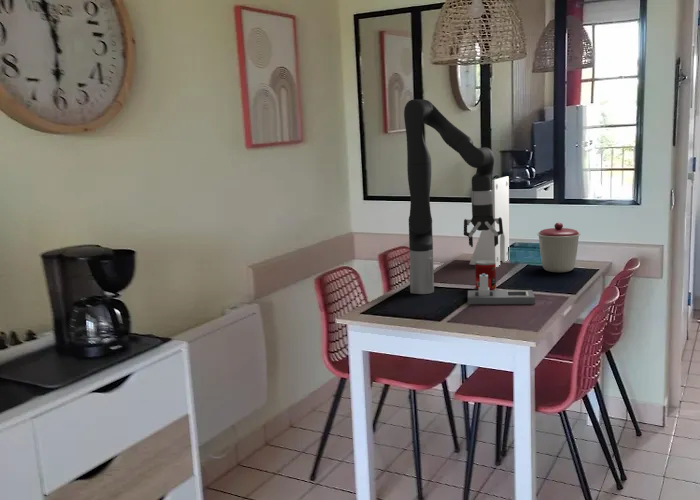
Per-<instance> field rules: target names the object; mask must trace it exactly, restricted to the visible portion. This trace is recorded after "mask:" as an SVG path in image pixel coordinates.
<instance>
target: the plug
mask: <svg viewBox="0 0 700 500" xmlns="http://www.w3.org/2000/svg"><path fill="white" fill-rule="evenodd" d="M478 288H479V296H490V289H489V287H488V275H485V273H482V275H480V287H478Z"/></svg>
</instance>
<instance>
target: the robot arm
mask: <svg viewBox="0 0 700 500" xmlns="http://www.w3.org/2000/svg"><path fill="white" fill-rule="evenodd" d="M403 117H404V125H405V126H404V128H405V136H406V152H407V153H406V155H407V158H406V159H407V160H406V161H407V162H406V163H407V164H406V167H407V169H406V170H407V171H406V172H407V181H408V190H409V196H410V207H409V216H408V236H409V237H408V244H409V289H410V294H415V295H416V294H417V295H427V294H428V295H429V294H432V293H434V292H435V284H434V283H435V281H434V280H435V279H434V271H435V270H434V242H433V238H434V237H433V218H432V217H433V216H432V211H431V203H430V202H431V201H430V195H431V194H430V193H431V186H432V158H431V157H432V156H431V153H430V152H429V150H428V147H427V145H426V141H425V140H424V139H425V138H424V131H423V129H424V126H423V125H427V126H429V127H430V128H433V130H435V131H436V133H438V134H439V135H440V137H441V138H442V140H443V142H445V144H446V145H447V146H448V147H449V148H451V149H453V150H454V151H455V152H457V154H459V155H460V157H461V158H462V160H463V161H464V162H465V163H466V164H467V165H468V166H470V167H472V168H473V169H476V173H475V174H474V175H472V177H471V215H472V216H471V217H472V218H471V219H467V218H464V219H463V235H464V236H465V237H467V238H468V246H470V247H471V248H474V245H473V244H474V242H473V241H474V240H473V236H474V234H475V233H476V231H479V232H480V231H482V230H489V229H490V230H491V231H492V232H493V234H494V235H495V236H494V246H496V245H498V236H499V235H501V234H503V226H502V218H501V217H499V218H495V219H494V218H493V191H492V175H493V170H494V165H495V156H494V153H493V151H492V149H490V148H489V147H485V146H484V147H483V146H482V147H477V146H476V145H474V141H473V139H472V138H471V137H470V136H469V135H467V134H466V133H465V132H464V131H462V130H461V129H460V128H458V127H457V126H455V125H454V124H453V123H452V122H451V121H449V120H448V119H447V117H445V116H444V115H443V113H441V111H440V110H439V109H438V108H437V107H436V106H435V105H434V104H433V103H432V102H431V101H430V100H428V99H410V100H408V101H407V103H406V104H405V106H404V108H403ZM494 221H496V223H497V224H499V231H498V232H497V231H496V230H495V229H494V228H493V226H492V225H493V223H494ZM470 223H471V224H472V225H473V227H472V229H471V230H470V232H468V226H469V225H470Z"/></svg>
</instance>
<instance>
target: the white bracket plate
mask: <svg viewBox="0 0 700 500" xmlns="http://www.w3.org/2000/svg"><path fill="white" fill-rule="evenodd" d="M509 177H510V176H507V175H506V176H502V177H498V178H496V179H491V190H492V199H493V218H494V219H495V218H499V217H501V218H502V226H503V234H501V235H499V236H498V245H496V246H494V236H495V235H494V234H493V232H492V231H491V230H490V229H489V230H481V232H480V234H479V237H478V240H477V243H476V245H475V247H474V251H473V254H472V256H471V259H470V261H469V265H473V266H475V263H476V261H479V260H493V261H495V263H496V267H497V268H499V267H500V266H501V262H500V261H503V262H502V263H504V262H505V261H507V260H508V247H509V248H510V187H509V186H510V178H509ZM492 226H493V228H494V229H495V230H496V231H497V232H498V231H499V224H497V223H496V221H494V223H493V225H492ZM508 261H509V260H508ZM508 261H507V262H508ZM505 263H506V262H505ZM499 265H500V266H499Z"/></svg>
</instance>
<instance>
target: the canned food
mask: <svg viewBox="0 0 700 500" xmlns="http://www.w3.org/2000/svg"><path fill="white" fill-rule="evenodd" d="M474 266H475V267H474V268H475V269H474V270H475V288H476V290H479V288H478V287H480V275H482V273H485V275H488V287H489V289H490V290H495V289H496V287H497V278H496V277H497V274H496V273H497V270H496V269H497V268H496V263H495V261H493V260H479V261H476V263H475V265H474Z"/></svg>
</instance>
